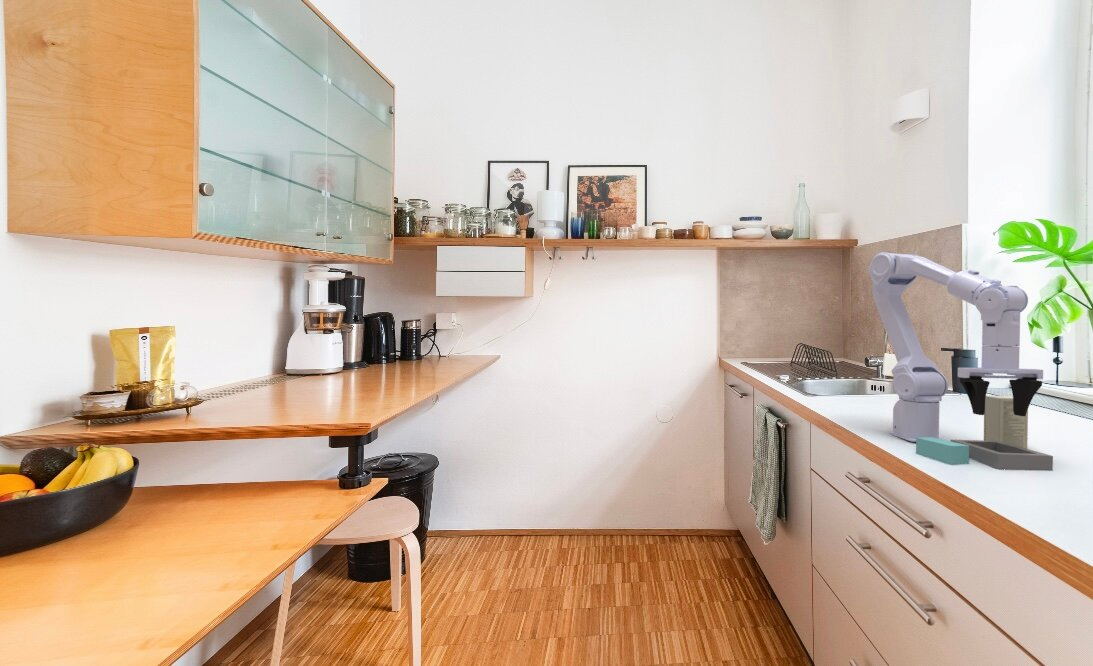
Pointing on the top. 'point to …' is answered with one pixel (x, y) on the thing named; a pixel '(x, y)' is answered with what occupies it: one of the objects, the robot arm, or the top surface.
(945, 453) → the peg
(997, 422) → the skincare box
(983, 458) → the socket block
